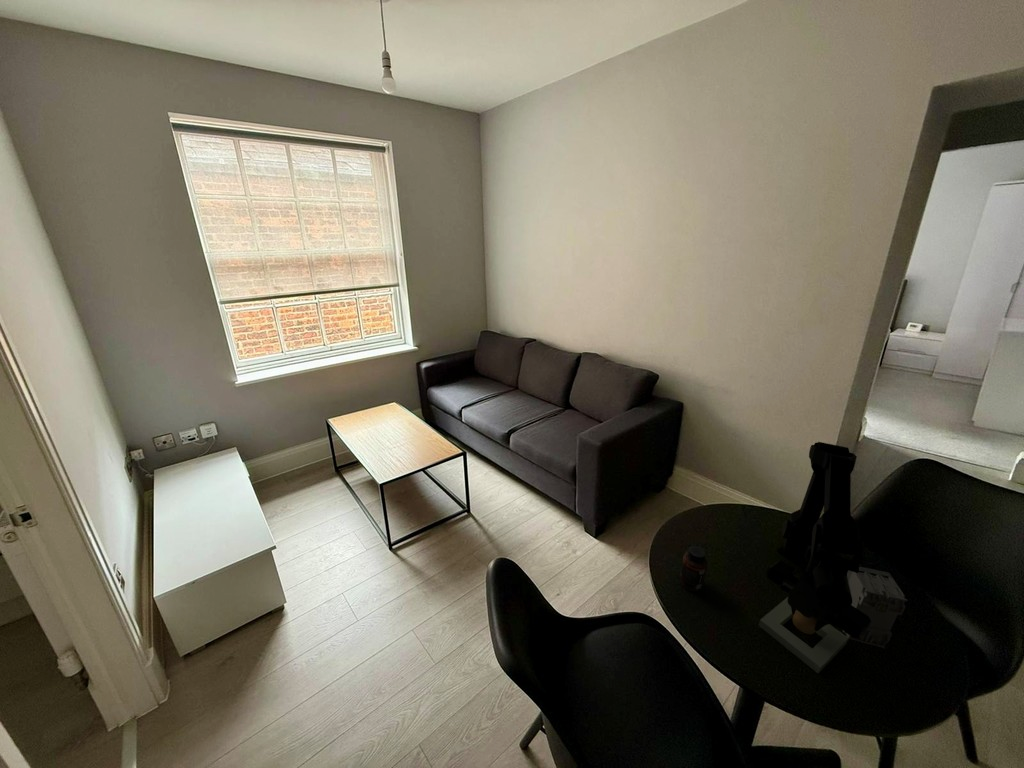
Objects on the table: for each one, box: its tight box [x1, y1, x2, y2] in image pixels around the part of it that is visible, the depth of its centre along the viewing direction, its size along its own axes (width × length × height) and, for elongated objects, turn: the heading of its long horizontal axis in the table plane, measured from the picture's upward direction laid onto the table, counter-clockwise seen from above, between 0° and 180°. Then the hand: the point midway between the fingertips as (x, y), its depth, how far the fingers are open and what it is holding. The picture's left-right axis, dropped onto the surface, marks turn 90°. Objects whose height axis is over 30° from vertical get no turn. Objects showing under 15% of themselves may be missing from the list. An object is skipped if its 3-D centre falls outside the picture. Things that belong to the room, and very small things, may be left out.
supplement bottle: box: [679, 545, 709, 592], centre depth 105 cm, size 6×6×11 cm
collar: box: [758, 596, 850, 674], centre depth 93 cm, size 13×13×2 cm
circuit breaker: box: [842, 566, 908, 649], centre depth 95 cm, size 8×14×15 cm, turn 161°
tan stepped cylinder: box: [792, 610, 820, 635], centre depth 91 cm, size 4×4×6 cm
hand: (805, 621), depth 92 cm, fingers closed on tan stepped cylinder, 4 cm apart
